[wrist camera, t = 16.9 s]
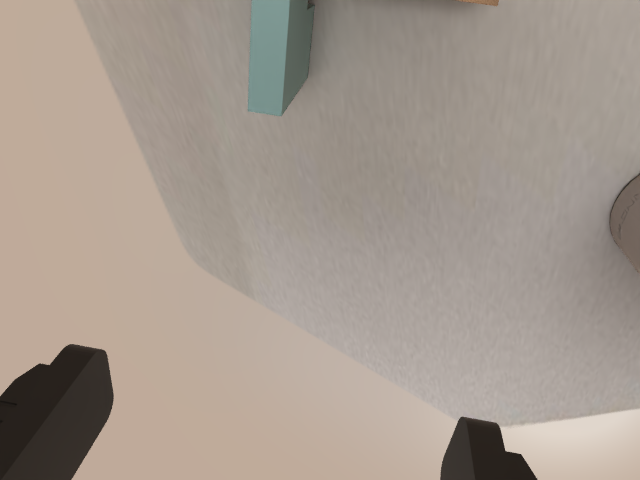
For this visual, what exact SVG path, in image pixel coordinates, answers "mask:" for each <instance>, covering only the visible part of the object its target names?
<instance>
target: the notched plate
mask: <svg viewBox="0 0 640 480" xmlns="http://www.w3.org/2000/svg"><path fill="white" fill-rule="evenodd" d="M314 7H315V5H312V4H308V0H252V8H251V35H250V63H249V90H248V111H250V112H256V113H263V114H269V115H276V116H282V115H283V113H284V112H285V110H286V109H287V107H288V106H289V104H290V103H291V101H292V100H293V98H294V97H295V95H296V94H297V92H298V91H299V89H300V88H301V86H302V85H303V83H304V82H305V80H306V79H307V77H308V67H309V57H310V47H311V37H312V27H313V17H314Z"/></svg>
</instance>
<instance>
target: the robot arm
mask: <svg viewBox="0 0 640 480" xmlns="http://www.w3.org/2000/svg"><path fill="white" fill-rule="evenodd" d="M610 227H611V233H612V236H613V238H614V240H615V242H616V243H617V245H618V246H619V247H620V249H621V250H622V251H623V253H624V254H625V255H626V257H627V258H628V259H629V261H630V262H631V263H632V265H633V266H634V267H635V269H636V270H637V272H638V273H639V274H640V175H639V176H638V177H637V178H635V179H634V180H633V181H631V182H630V183H629V185H628V186H627V187H626V188H625V189H624V190H623V191H622V192H621V194H620V195H619V197H618V199H617V200H616V202H615V204H614V207H613V209H612V212H611V219H610ZM112 405H113V388H112V383H111V376H110V370H109V364H108V358H107V354H106V352H105V351H104V350H102V349H96V348H91V347H85V346H80V345H74V344H70V345H68V346H66V347H65V348H64V349H63V350H62V351H61V352H60V353H59V355H58V356H57V357H56V358H55V359H54V361H53V362H52V363H51V364H50V365H45V364H38V365H36V366H35V367H33V368H32V369H30V370H29V371H27V372H26V373H25V374H23V375H21V376H20V377H18V378H17V379H15V380H14V381H13V382H12V384H11V385H10V386H9V387H8V388H7V389H6V390H5V392H4V393H3V394H2V395H1V396H0V480H71V479H72V478H73V476H74V474H75V473H76V471H77V469H78V468H79V466H80V465H81V463H82V461H83V459H84V458H85V456H86V455H87V453H88V451H89V450H90V448H91V446H92V445H93V443H94V441H95V440H96V438H97V437H98V435H99V433H100V432H101V430H102V428H103V427H104V425H105V423H106V422H107V420H108V418H109V415H110V412H111V409H112ZM440 480H537V478H536V477H535V475H534V473H533V472H532V471H531V469H530V467H529V466H528V464H527V463H526V461H525V460H524V458H523V457H522V455H521V454H517V453H512V452H506V451H505V448H504V443H503V439H502V434H501V430H500V427H499V425H498V424H497V423H494V422H489V421H483V420H478V419H472V418H467V417H461V418H460V419H459V421H458V423H457V426H456V428H455V431H454V434H453V436H452V438H451V441H450V443H449V445H448V448H447V450H446V453H445V455H444V458H443V462H442V467H441V478H440Z"/></svg>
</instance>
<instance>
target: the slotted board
mask: <svg viewBox="0 0 640 480" xmlns="http://www.w3.org/2000/svg"><path fill="white" fill-rule="evenodd" d="M456 1H464V2H471V3H478V4H486V5H493V6H497V5H498V2H499V0H456Z"/></svg>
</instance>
